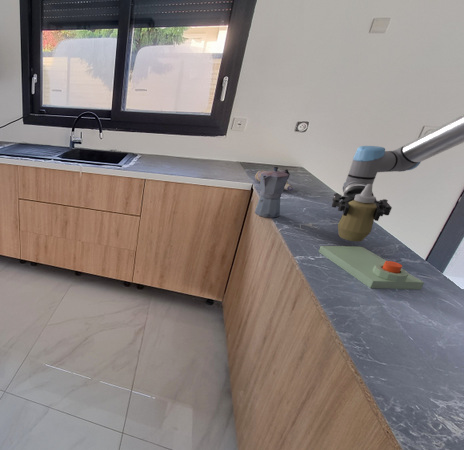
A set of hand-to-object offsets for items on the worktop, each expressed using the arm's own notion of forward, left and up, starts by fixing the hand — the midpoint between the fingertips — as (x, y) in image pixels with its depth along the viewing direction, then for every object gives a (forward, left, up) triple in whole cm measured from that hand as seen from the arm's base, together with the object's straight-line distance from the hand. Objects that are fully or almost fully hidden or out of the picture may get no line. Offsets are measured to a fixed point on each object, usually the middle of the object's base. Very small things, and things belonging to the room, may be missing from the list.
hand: (361, 214), depth 93 cm
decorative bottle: (-14, -73, -13) cm, 76 cm away
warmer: (+3, +11, -13) cm, 17 cm away
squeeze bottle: (-3, -4, -10) cm, 11 cm away
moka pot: (+8, -33, -13) cm, 37 cm away
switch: (+3, +18, -9) cm, 20 cm away
